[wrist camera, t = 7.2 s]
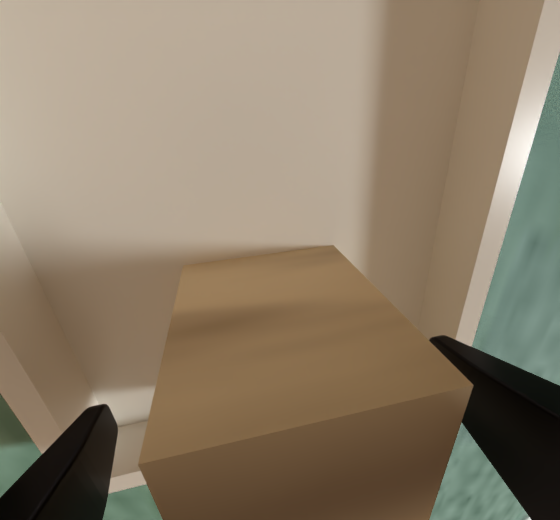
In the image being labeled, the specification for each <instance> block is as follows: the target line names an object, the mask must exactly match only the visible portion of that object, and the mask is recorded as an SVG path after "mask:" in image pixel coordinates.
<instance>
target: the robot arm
mask: <svg viewBox="0 0 560 520" xmlns="http://www.w3.org/2000/svg"><path fill="white" fill-rule="evenodd" d="M429 341H430V342H431V343H432V344H433V345H434V346H435V347H436V348H437V349H438V350H439V351H440V352H441V353H442V354H443V355H444V356H445V357H446V358H447V359H448V360H449V361H450V362H451V363H452V364H453V365H454V366H455V367H456V368H457V369H458V370H459V371H460V372H461V373H462V374H463V375H464V376H465V377H466V378H467V379H468V380H469V381H470V382H471V383H472V384H473V388H472V391H471V394H470V397H469V401H468V404H467V407H466V410H465V413H464V416H463V419H462V423H463V425H464V426H465V428H466V429H467V430H468V432H469V433H470V434H471V436H472V437H473V439H474V440H475V441H476V443H477V444H478V446H479V447H480V448H481V450H482V451H483V453H484V454H485V455H486V457H487V458H488V460H489V461H490V462H491V464H492V465H493V467H494V468H495V469H496V471H497V472H498V473H499V475H500V476H501V478H502V479H503V480H504V482H505V483H506V485H507V486H508V487H509V489H510V490H511V492H512V493H513V494H514V496H515V497H516V499H517V500H518V501H519V503H520V504H521V506H522V507H523V508H524V510H525V511H526V512H527V514H528V515H529V517H530V518H531V519H532V520H560V386H559V385H557V384H554V383H552V382H550V381H548V380H545V379H543V378H541V377H539V376H536V375H534V374H532V373H530V372H527V371H525V370H523V369H521V368H518V367H516V366H514V365H511V364H509V363H507V362H505V361H502V360H500V359H498V358H496V357H493V356H491V355H489V354H487V353H484V352H482V351H480V350H478V349H475V348H473V347H471V346H469V345H466V344H464V343H462V342H459V341H457V340H455V339H453V338H450V337H448V336H446V335H439V336H434V337H431V338H430V339H429ZM117 436H118V426H117V423H116V420H115V418H114V416H113V414H112V412H111V410H110V408H109V406H108V405H107V404H100V405H95V406H91V407H88V408H87V409H85V410H84V411H83V412H82V413H81V415H80V416H79V417H78V418H77V419H76V420H75V421H74V422H73V423H72V424H71V425H70V426H69V427H68V428H67V429H66V430H65V431H64V432H63V433H62V434H61V435H60V436H59V437H58V438H57V439H56V440H55V442H54V443H53V444H52V445H51V446H50V447H49V448H48V449H47V450H46V451H45V452H44V453H43V454H42V455H41V456H40V457H39V458H38V459H37V460H36V461H35V462H34V463H33V464H32V465H31V466H30V467H29V468H28V470H27V471H26V472H25V473H24V474H23V475H22V476H21V477H20V478H19V479H18V480H17V481H16V482H15V483H14V484H13V485H12V486H11V487H10V488H9V489H8V490H7V491H6V492H5V493H4V494H3V495H2V497H1V498H0V520H102V519H103V515H104V511H105V507H106V503H107V497H108V492H109V486H110V479H111V473H112V467H113V461H114V455H115V448H116V442H117Z"/></svg>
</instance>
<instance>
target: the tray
mask: <svg viewBox="0 0 560 520" xmlns="http://www.w3.org/2000/svg"><path fill="white" fill-rule="evenodd" d="M559 52H560V0H0V393H1V395H2V396H3V398H4V399H5V401H6V402H7V404H8V405H9V406H10V408H11V409H12V411H13V412H14V414H15V415H16V417H17V418H18V420H19V421H20V422H21V424H22V425H23V427H24V428H25V430H26V431H27V433H28V434H29V436H30V437H31V439H32V440H33V441H34V443H35V444H36V446H37V447H38V449H39V450H40V452H41V453H42V454H43V453H44V452H45V451H46V450H47V449H48V448H49V447H50V446H51V445H52V444H53V443H54V442H55V440H56V439H57V438H58V437H59V436H60V435H61V434H62V433H63V432H64V431H65V430H66V429H67V428H68V427H69V426H70V425H71V424H72V423H73V422H74V421H75V420H76V419H77V418H78V417H79V416H80V415H81V413H82V412H83V411H84V410H85V409H87V408H88V407H91V406H95V405H100V404H107V405H108V406H109V408H110V410H111V412H112V414H113V416H114V418H115V420H116V423H117V426H118V436H117V442H116V448H115V455H114V461H113V467H112V473H111V479H110V486H109V492H108V493H112V492H116V491H120V490H124V489H128V488H132V487H136V486H140V485H144V484H147V483H146V481H145V479H144V477H143V475H142V472H141V470H140V468H139V466H138V462H139V458H140V453H141V449H142V444H143V440H144V436H145V431H146V427H147V422H148V418H149V414H150V409H151V405H152V400H153V396H154V392H155V387H156V383H157V378H158V374H159V370H160V365H161V361H162V356H163V352H164V348H165V343H166V339H167V334H168V330H169V326H170V321H171V317H172V312H173V308H174V304H175V299H176V295H177V290H178V286H179V281H180V277H181V273H182V268H183V265H191V264H198V263H205V262H213V261H220V260H228V259H235V258H242V257H250V256H257V255H265V254H272V253H279V252H287V251H294V250H301V249H309V248H316V247H324V246H331V245H334V246H335V247H336V248H337V249H338V250H339V251H340V252H341V253H342V254H343V255H344V256H345V257H346V258H347V259H348V260H349V261H350V262H351V263H352V264H353V265H354V266H355V267H356V268H357V269H358V270H359V271H360V272H361V273H362V274H363V275H364V276H365V277H366V278H367V279H368V280H369V281H370V282H371V283H372V284H373V285H374V286H375V287H376V288H377V289H378V290H379V291H380V292H381V293H382V294H383V295H384V296H385V297H386V298H387V299H388V300H389V301H390V302H391V303H392V304H393V305H394V306H395V307H396V308H397V309H398V310H399V311H400V312H401V313H402V314H403V315H404V316H405V317H406V318H407V319H408V320H409V321H410V322H411V323H412V324H413V325H414V326H415V327H416V328H417V329H418V330H419V331H420V332H421V333H422V334H423V335H424V336H425V337H426V338H427V339H428V340H429V339H430V338H431V337H434V336H439V335H446V336H448V337H450V338H453V339H455V340H457V341H459V342H462V343H464V344H466V345H469V346H471V347H472V344H473V340H474V337H475V333H476V330H477V327H478V323H479V320H480V317H481V313H482V310H483V307H484V303H485V300H486V297H487V293H488V290H489V287H490V283H491V280H492V276H493V273H494V270H495V266H496V263H497V260H498V256H499V253H500V250H501V246H502V243H503V240H504V236H505V233H506V230H507V226H508V223H509V219H510V216H511V213H512V209H513V206H514V203H515V199H516V196H517V193H518V189H519V186H520V183H521V179H522V176H523V173H524V169H525V166H526V163H527V159H528V156H529V152H530V149H531V146H532V142H533V139H534V136H535V132H536V129H537V126H538V122H539V119H540V116H541V112H542V109H543V106H544V102H545V99H546V95H547V92H548V89H549V85H550V82H551V79H552V75H553V72H554V69H555V65H556V62H557V59H558V55H559Z"/></svg>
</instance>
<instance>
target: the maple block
mask: <svg viewBox="0 0 560 520" xmlns="http://www.w3.org/2000/svg"><path fill="white" fill-rule="evenodd" d="M472 388H473V384H472V383H471V382H470V381H469V380H468V379H467V378H466V377H465V376H464V375H463V374H462V373H461V372H460V371H459V370H458V369H457V368H456V367H455V366H454V365H453V364H452V363H451V362H450V361H449V360H448V359H447V358H446V357H445V356H444V355H443V354H442V353H441V352H440V351H439V350H438V349H437V348H436V347H435V346H434V345H433V344H432V343H431V342H430V341H429V340H428V339H427V338H426V337H425V336H424V335H423V334H422V333H421V332H420V331H419V330H418V329H417V328H416V327H415V326H414V325H413V324H412V323H411V322H410V321H409V320H408V319H407V318H406V317H405V316H404V315H403V314H402V313H401V312H400V311H399V310H398V309H397V308H396V307H395V306H394V305H393V304H392V303H391V302H390V301H389V300H388V299H387V298H386V297H385V296H384V295H383V294H382V293H381V292H380V291H379V290H378V289H377V288H376V287H375V286H374V285H373V284H372V283H371V282H370V281H369V280H368V279H367V278H366V277H365V276H364V275H363V274H362V273H361V272H360V271H359V270H358V269H357V268H356V267H355V266H354V265H353V264H352V263H351V262H350V261H349V260H348V259H347V258H346V257H345V256H344V255H343V254H342V253H341V252H340V251H339V250H338V249H337V248H336V247H335V246H334V245H331V246H324V247H316V248H309V249H301V250H294V251H287V252H279V253H272V254H265V255H257V256H250V257H242V258H235V259H228V260H220V261H213V262H205V263H198V264H191V265H183V268H182V273H181V277H180V281H179V286H178V290H177V295H176V299H175V304H174V308H173V312H172V317H171V321H170V326H169V330H168V334H167V339H166V343H165V348H164V352H163V356H162V361H161V365H160V370H159V374H158V378H157V383H156V387H155V392H154V396H153V400H152V405H151V409H150V414H149V418H148V422H147V427H146V431H145V436H144V440H143V444H142V449H141V453H140V458H139V462H138V466H139V468H140V470H141V472H142V475H143V477H144V479H145V481H146V483H147V486H148V488H149V490H150V492H151V494H152V497H153V499H154V501H155V503H156V505H157V508H158V510H159V512H160V514H161V516H162V519H163V520H429V518H430V515H431V512H432V509H433V506H434V503H435V500H436V497H437V494H438V491H439V488H440V485H441V482H442V479H443V476H444V473H445V470H446V467H447V464H448V461H449V458H450V455H451V452H452V449H453V446H454V443H455V440H456V437H457V434H458V431H459V428H460V425H461V422H462V419H463V416H464V413H465V410H466V407H467V404H468V401H469V397H470V394H471V391H472Z"/></svg>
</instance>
